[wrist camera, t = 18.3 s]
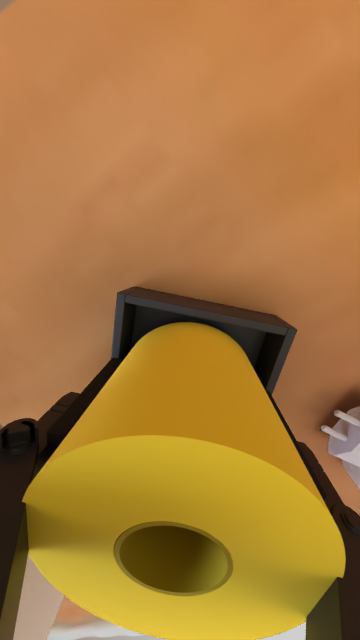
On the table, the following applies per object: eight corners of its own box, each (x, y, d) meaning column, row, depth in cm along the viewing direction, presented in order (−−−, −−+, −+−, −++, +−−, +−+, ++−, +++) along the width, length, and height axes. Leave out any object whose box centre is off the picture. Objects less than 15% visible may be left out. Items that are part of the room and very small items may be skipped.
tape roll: (176, 451, 17) (152, 660, 8) (98, 369, 15) (-40, 518, 6) (278, 398, 15) (405, 608, 6) (201, 293, 13) (210, 362, 4)
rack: (110, 480, 24) (95, 518, 20) (133, 286, 17) (117, 292, 13) (210, 504, 23) (212, 546, 20) (276, 315, 16) (297, 329, 13)
